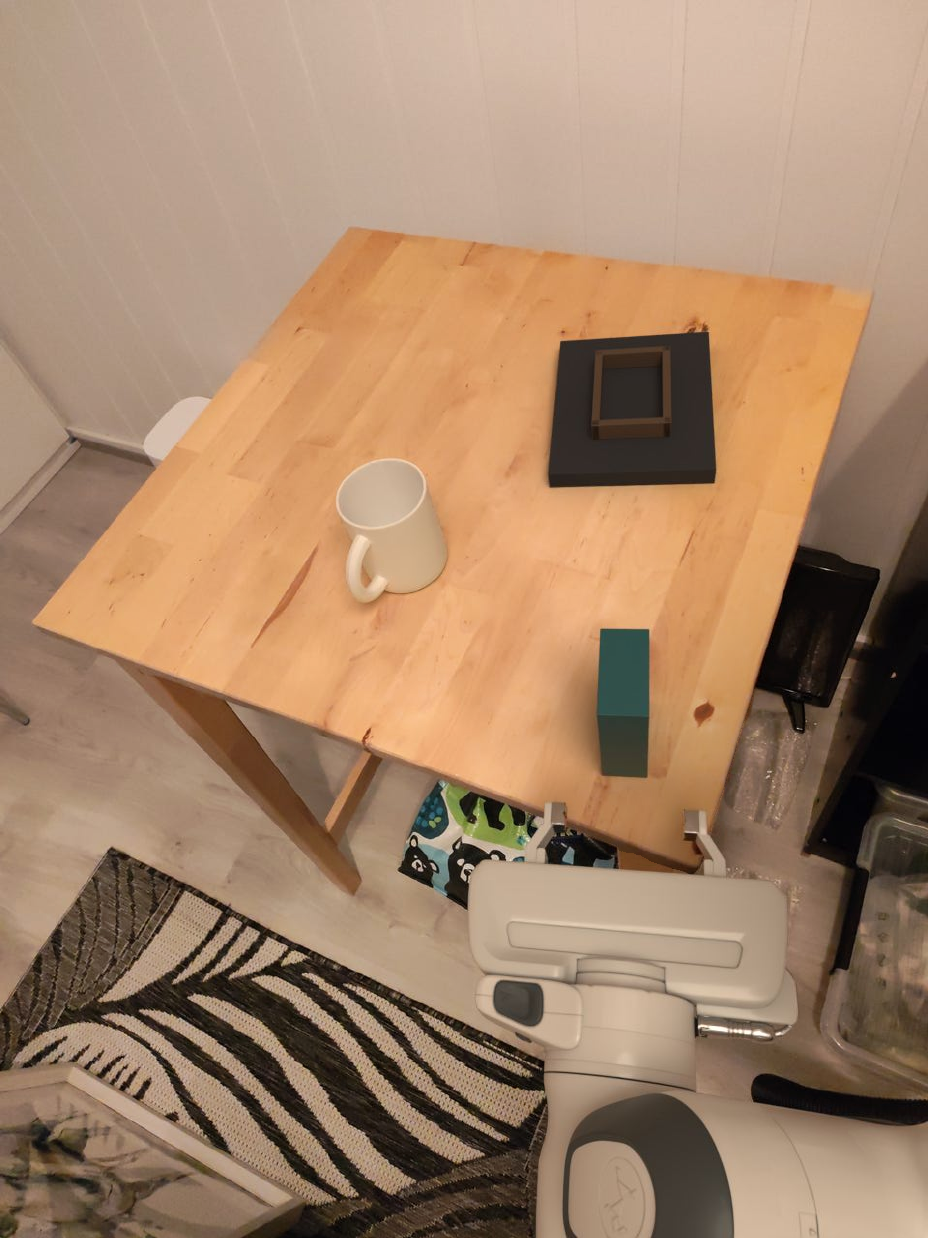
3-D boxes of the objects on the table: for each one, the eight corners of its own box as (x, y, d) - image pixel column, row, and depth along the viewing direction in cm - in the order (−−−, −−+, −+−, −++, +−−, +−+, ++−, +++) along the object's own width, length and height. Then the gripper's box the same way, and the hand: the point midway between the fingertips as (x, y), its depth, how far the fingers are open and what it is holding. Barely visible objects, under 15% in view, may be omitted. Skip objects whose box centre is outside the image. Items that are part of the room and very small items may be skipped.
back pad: (647, 698, 67) (649, 628, 58) (647, 778, 63) (649, 716, 54) (604, 697, 68) (600, 628, 59) (602, 775, 64) (596, 714, 55)
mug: (404, 638, 75) (375, 573, 66) (332, 612, 78) (294, 546, 69) (463, 541, 80) (443, 469, 71) (393, 520, 83) (365, 449, 74)
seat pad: (707, 346, 88) (710, 315, 85) (714, 483, 78) (718, 454, 75) (561, 354, 92) (558, 325, 89) (549, 487, 81) (546, 459, 78)
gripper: (811, 1043, 44) (789, 800, 51) (449, 1001, 49) (475, 783, 56) (793, 1053, 49) (775, 832, 57) (467, 1015, 54) (489, 814, 61)
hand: (624, 807), depth 56 cm, fingers open, 8 cm apart
